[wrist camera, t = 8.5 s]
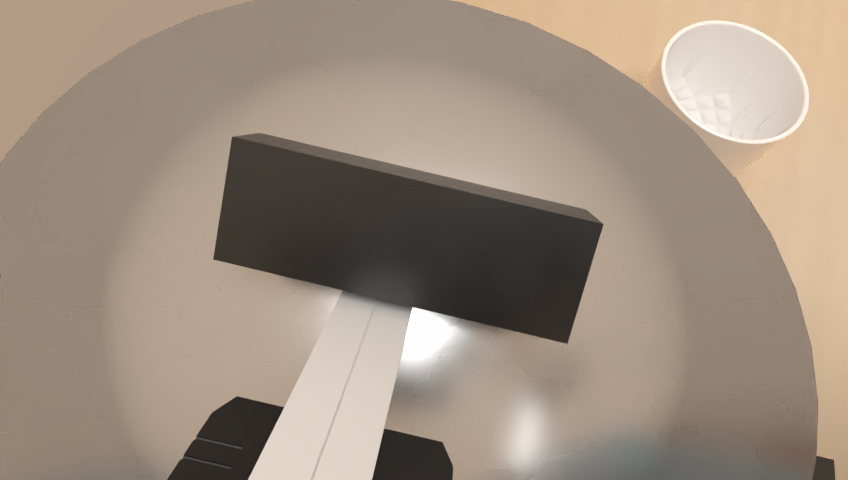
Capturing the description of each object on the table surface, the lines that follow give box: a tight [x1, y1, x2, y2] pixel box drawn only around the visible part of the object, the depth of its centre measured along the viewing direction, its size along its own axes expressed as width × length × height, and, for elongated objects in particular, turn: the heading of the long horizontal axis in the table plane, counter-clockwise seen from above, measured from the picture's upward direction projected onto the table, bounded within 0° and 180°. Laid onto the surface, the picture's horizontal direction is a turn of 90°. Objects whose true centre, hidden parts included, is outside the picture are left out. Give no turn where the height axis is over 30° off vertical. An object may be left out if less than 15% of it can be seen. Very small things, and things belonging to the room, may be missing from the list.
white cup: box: [643, 20, 809, 177], centre depth 36 cm, size 8×8×10 cm
